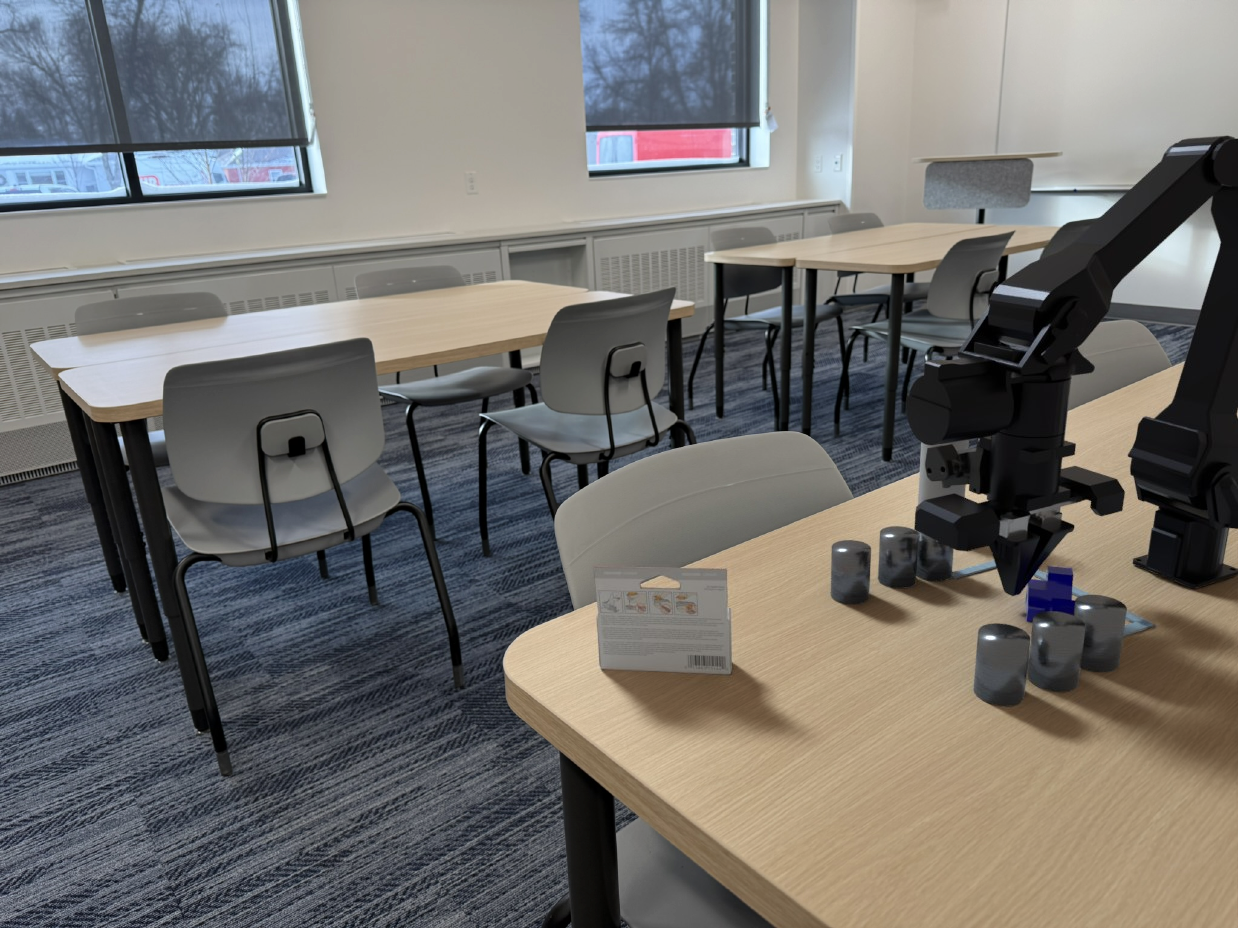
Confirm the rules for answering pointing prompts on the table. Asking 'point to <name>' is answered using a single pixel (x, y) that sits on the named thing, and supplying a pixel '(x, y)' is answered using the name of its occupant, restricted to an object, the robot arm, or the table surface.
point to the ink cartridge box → (663, 620)
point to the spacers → (999, 646)
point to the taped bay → (1128, 629)
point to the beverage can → (935, 487)
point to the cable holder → (1050, 593)
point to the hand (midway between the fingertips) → (1011, 593)
